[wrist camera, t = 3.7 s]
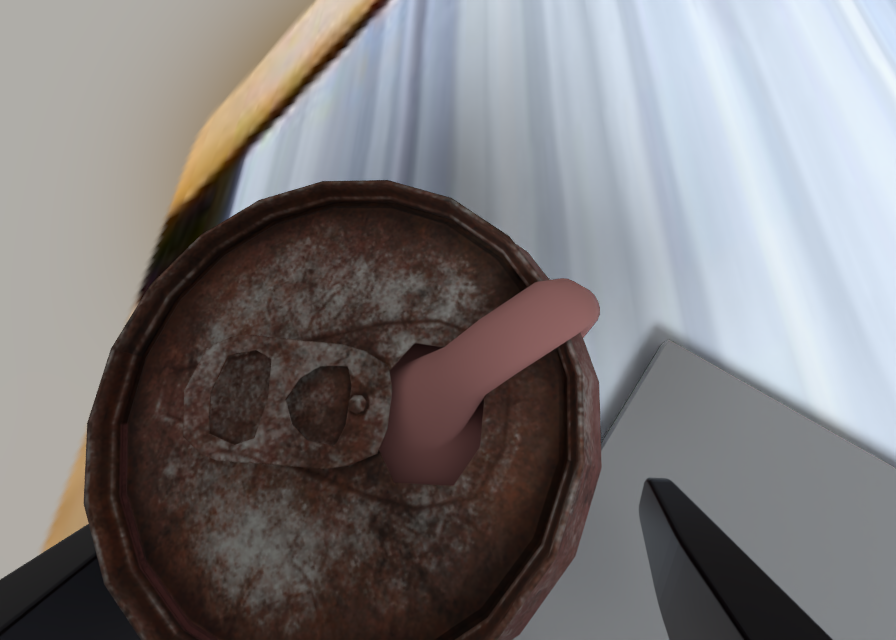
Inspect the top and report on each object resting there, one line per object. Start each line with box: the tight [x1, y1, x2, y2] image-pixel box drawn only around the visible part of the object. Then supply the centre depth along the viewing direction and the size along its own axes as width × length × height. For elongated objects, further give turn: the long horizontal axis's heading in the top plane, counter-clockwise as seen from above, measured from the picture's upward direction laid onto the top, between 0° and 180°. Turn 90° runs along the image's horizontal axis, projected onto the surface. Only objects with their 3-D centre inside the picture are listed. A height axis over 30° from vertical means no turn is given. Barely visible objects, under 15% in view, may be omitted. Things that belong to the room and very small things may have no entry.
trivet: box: [512, 340, 896, 640], centre depth 14 cm, size 14×14×1 cm
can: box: [84, 180, 602, 640], centre depth 11 cm, size 6×6×14 cm
